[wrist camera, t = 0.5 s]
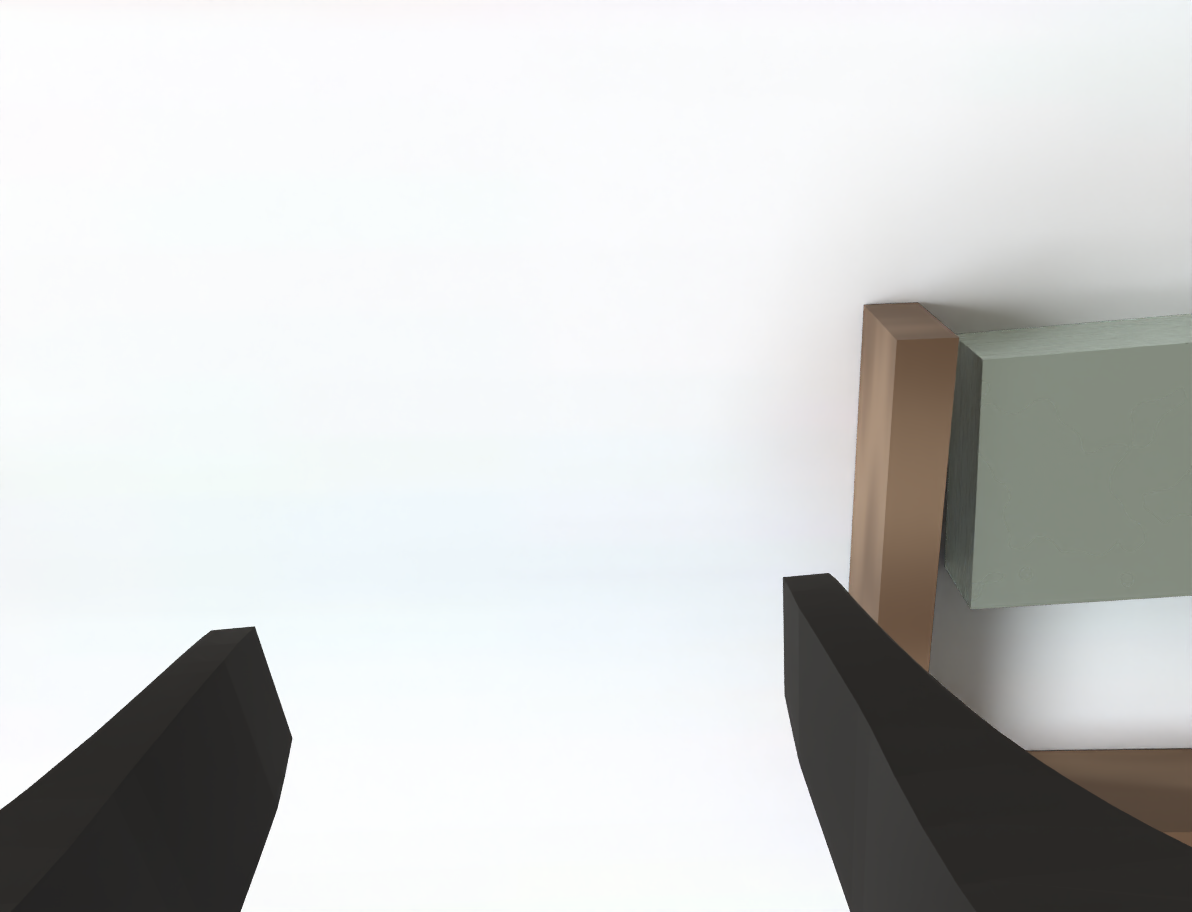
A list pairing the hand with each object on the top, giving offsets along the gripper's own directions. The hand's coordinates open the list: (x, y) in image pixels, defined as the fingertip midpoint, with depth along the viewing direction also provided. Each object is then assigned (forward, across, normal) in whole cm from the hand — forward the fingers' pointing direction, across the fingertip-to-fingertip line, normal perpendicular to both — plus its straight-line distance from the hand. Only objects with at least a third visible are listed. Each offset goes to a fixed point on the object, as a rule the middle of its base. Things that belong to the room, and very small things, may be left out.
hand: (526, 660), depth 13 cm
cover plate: (+10, -15, +3) cm, 18 cm away
